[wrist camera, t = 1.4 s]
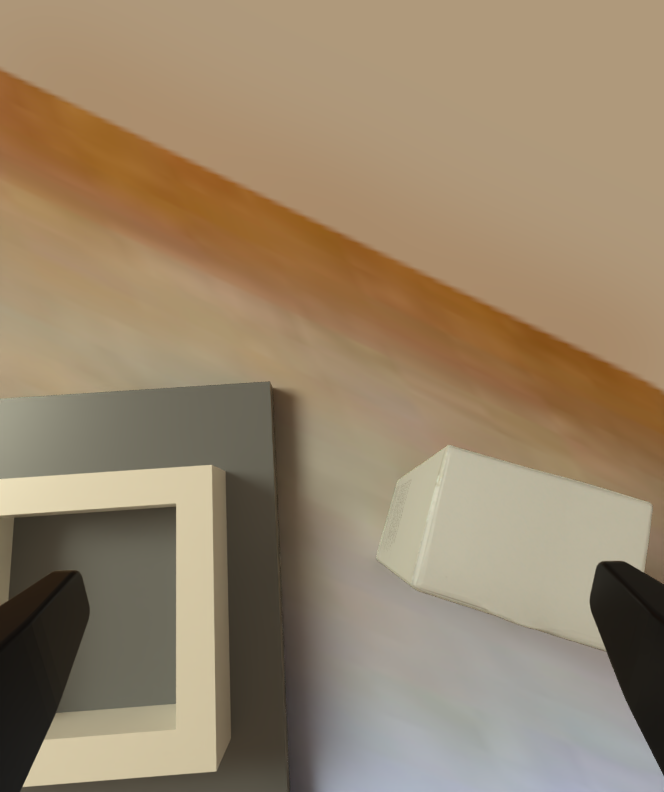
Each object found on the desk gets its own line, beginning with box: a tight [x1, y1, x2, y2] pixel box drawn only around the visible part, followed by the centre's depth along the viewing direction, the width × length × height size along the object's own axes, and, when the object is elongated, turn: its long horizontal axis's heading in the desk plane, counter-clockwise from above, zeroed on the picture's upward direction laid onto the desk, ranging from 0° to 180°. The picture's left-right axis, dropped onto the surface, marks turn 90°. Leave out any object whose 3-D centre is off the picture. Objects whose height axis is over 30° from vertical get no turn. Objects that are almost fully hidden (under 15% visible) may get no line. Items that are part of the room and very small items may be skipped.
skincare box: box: [376, 445, 653, 652], centre depth 20 cm, size 6×4×12 cm
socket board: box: [0, 382, 290, 792], centre depth 23 cm, size 20×16×4 cm
